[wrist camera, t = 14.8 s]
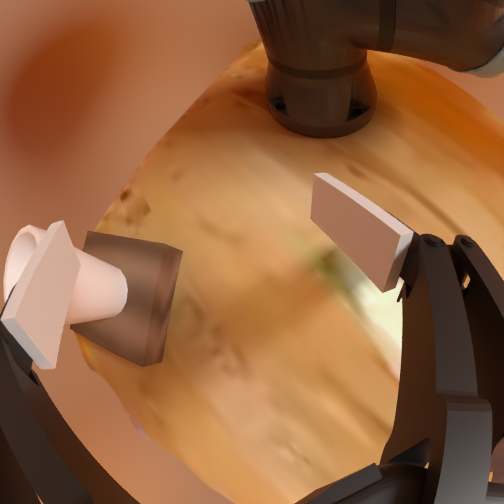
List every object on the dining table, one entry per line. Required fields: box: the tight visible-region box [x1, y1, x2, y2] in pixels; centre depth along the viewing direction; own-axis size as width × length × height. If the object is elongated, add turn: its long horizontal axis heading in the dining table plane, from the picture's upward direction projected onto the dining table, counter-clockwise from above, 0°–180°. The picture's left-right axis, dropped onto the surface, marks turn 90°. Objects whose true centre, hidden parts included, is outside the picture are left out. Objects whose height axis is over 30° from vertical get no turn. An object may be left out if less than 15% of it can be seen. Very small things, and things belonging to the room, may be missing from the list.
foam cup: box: [3, 225, 128, 325], centre depth 23 cm, size 10×9×13 cm
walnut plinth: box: [70, 231, 183, 367], centre depth 31 cm, size 14×14×4 cm
